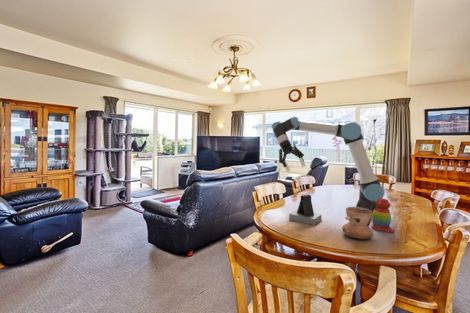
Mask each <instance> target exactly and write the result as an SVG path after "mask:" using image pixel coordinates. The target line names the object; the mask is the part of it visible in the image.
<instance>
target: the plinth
mask: <svg viewBox="0 0 470 313" xmlns="http://www.w3.org/2000/svg"><path fill="white" fill-rule="evenodd" d="M297 210H298V209H296V210H294V211H292V212H290V213H289V214H288V217H289V218H288V219H289V220H291V221H295V222H299V223H304V224H307V225H313V226H315V225H317V224H318V223H319V222H321V221H322V213H321V214H320V213H316V212H314V216H307V217H306V216H303V215H301V214H299V213H297Z"/></svg>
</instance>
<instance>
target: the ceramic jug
mask: <svg viewBox="0 0 470 313" xmlns="http://www.w3.org/2000/svg"><path fill="white" fill-rule="evenodd" d="M345 213H346V216H345V217H344V219H345V220H346V221H347V220H348V222H347V223H345V224H343V226H342V227H341V229H342V232H343V233H344V235H346V236H347V237H349V238H352V239H355V240H368V239H370V238H372V237H373V235H374V231H373V229H372V228H370V225H371V222H372V214H373V213H372V211H370V210H368V209H365V208H360V207H356V206H347V207H346V208H345Z"/></svg>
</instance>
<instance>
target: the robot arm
mask: <svg viewBox="0 0 470 313" xmlns="http://www.w3.org/2000/svg"><path fill="white" fill-rule="evenodd" d="M271 130H272V132H273V134H274V136H275V138H276V140H277V142H278V144H279V147H280V148H279V149H278V159H279V160H278V163H279V164H282V166H283V168H285V171H286V172H287V173H289V171H290V170H291V169H290V167H289V165H288V162H287V161H286V157H287V155H290V154H292V155H294V156H295V157H297V158H298V160H299V163H300V165H301V167H302V168H304V167H306V164H305V160H304V156H305V154H304V153H303V152H302V151H301V150H299V149H298V147H297V146H296V145H293V146H292V143H291V141H290V140H289V136H288V134H287V132H289V131H301V132H309V133H316V134H324V135H333V136H334V137H335V138H336V137H337V138H341V139H343V142H344V144H345V145H346V146H348V148H349V152H350V153H351V156H352V159H353V162H354V165H355V167H356V170H357V172H358V176H359V192H358V193H359V194H358V196H359V197H358V200H357V201H356V202H357V203H356V205H355V207H360V208H365V209H368V210H370V211H372V214H373V211H374V209H375V208H376V207H377V206H376V201H377V200H378V199H379V198H380V197H381V198H384V196H385V189H384V187H383V186H382V184H381V181H380V179H379V177H377V176H376V175H375V173H374V171H373V168H372V163H370V159H369V157H368V154H367V152H366V148H365V146H364V143H363V141H364V136H363V133H362V127H361V125H360V124H359V123H357V122H356V121H348V122H346V123H335V124H333V123H326V122H325V123H324V122H317V121H309V120H308V121H307V120H306V121H305V120H299V118H298V116H297V115H294V116H292V117H290V118H288V119H287V120H285V121H282V122H281V121H279V120H277V121H275V122H274V123H272V124H271Z"/></svg>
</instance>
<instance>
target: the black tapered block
mask: <svg viewBox="0 0 470 313" xmlns="http://www.w3.org/2000/svg"><path fill="white" fill-rule="evenodd" d="M312 203H313V202H312V195H311V194H302V195H300V201H299V203H298V206H297V209H296V210H297V213H299V214H301V215H303V216H306V217H307V216H314V213H315V212H314V208H313V204H312Z"/></svg>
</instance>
